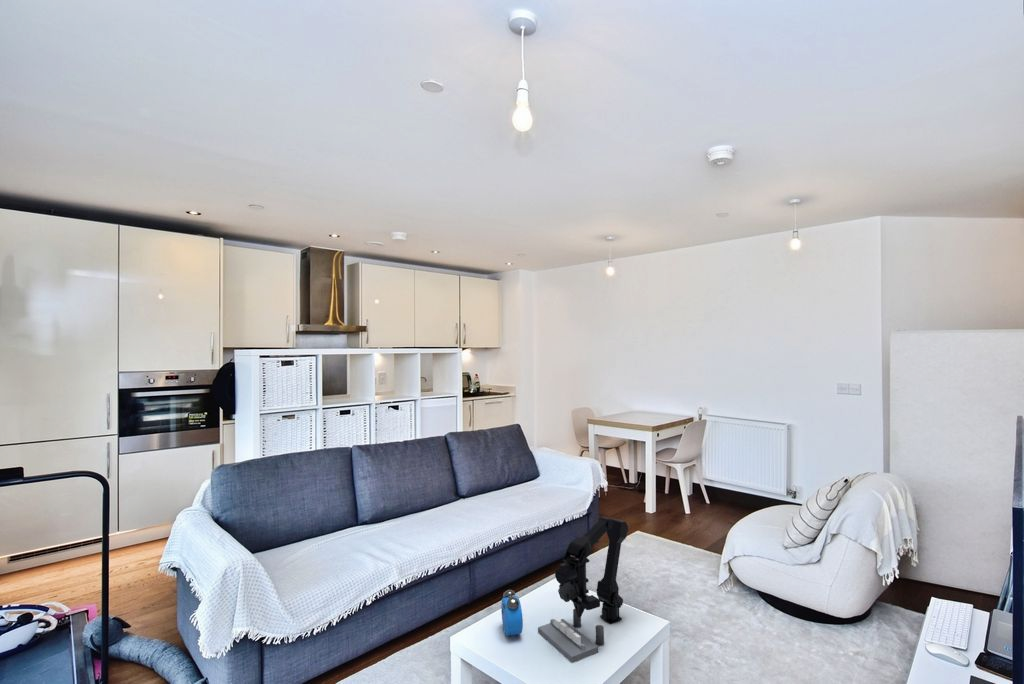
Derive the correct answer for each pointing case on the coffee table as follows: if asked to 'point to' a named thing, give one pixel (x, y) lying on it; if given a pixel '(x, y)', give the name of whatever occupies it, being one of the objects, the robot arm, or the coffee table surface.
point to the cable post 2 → (599, 635)
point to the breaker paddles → (567, 631)
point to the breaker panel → (568, 642)
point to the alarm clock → (511, 614)
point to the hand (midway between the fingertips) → (579, 617)
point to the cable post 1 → (576, 620)
